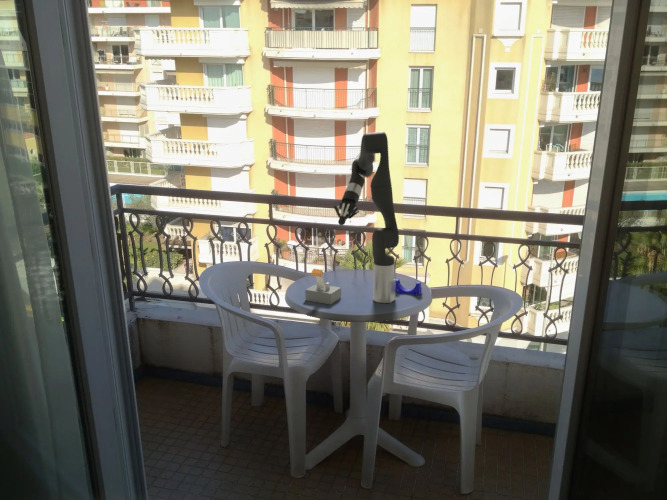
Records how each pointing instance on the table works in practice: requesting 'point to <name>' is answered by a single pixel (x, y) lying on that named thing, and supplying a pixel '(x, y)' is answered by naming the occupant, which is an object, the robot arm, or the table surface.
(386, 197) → the robot arm
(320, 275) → the lever
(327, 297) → the block
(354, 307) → the table surface
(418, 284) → the cable clip
